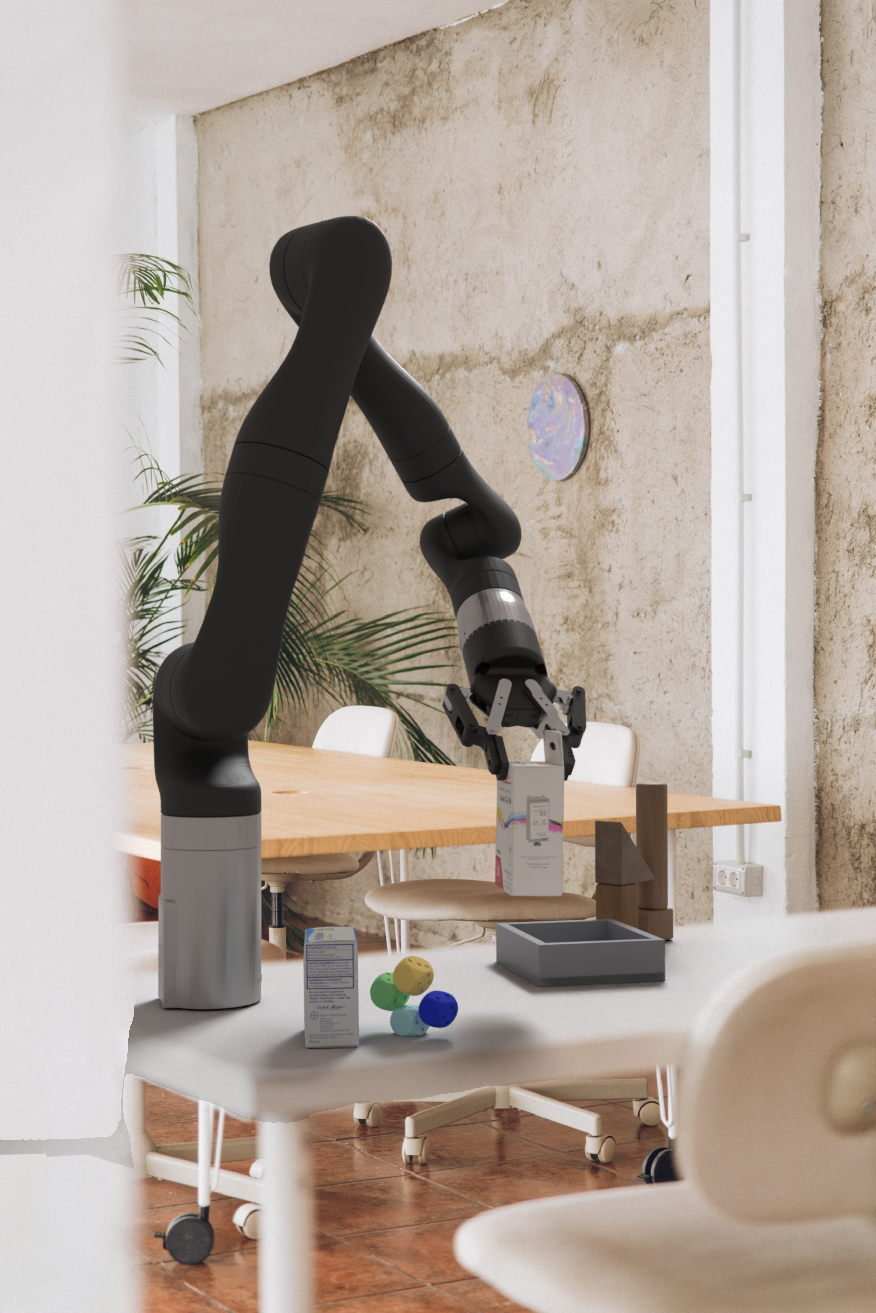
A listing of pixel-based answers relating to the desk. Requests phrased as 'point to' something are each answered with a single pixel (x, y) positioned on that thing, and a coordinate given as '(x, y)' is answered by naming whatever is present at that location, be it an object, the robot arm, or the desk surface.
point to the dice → (413, 980)
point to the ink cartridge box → (531, 824)
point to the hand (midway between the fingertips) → (534, 774)
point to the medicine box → (331, 988)
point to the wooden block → (636, 866)
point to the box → (580, 952)
